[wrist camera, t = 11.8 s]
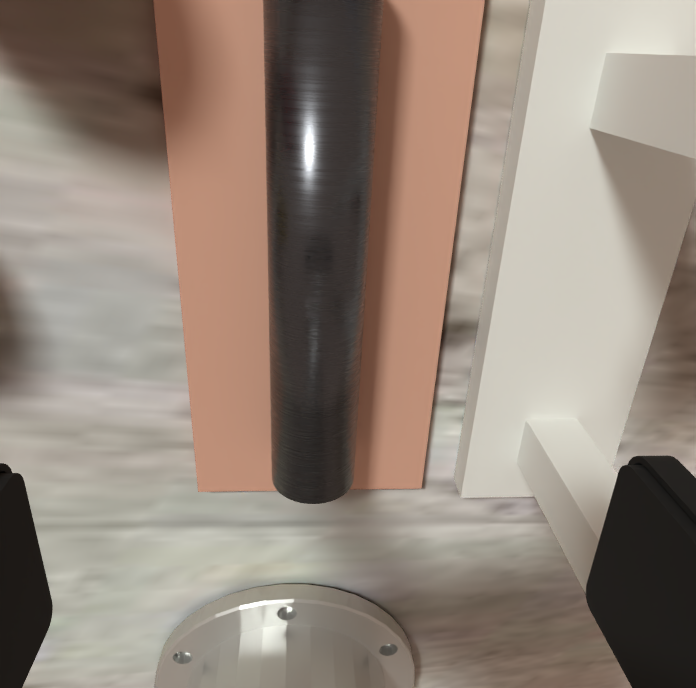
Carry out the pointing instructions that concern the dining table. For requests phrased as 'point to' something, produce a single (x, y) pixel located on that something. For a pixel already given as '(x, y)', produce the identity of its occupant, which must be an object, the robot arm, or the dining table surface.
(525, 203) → the stand
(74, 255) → the dining table surface
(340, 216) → the cylinder
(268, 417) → the mat
